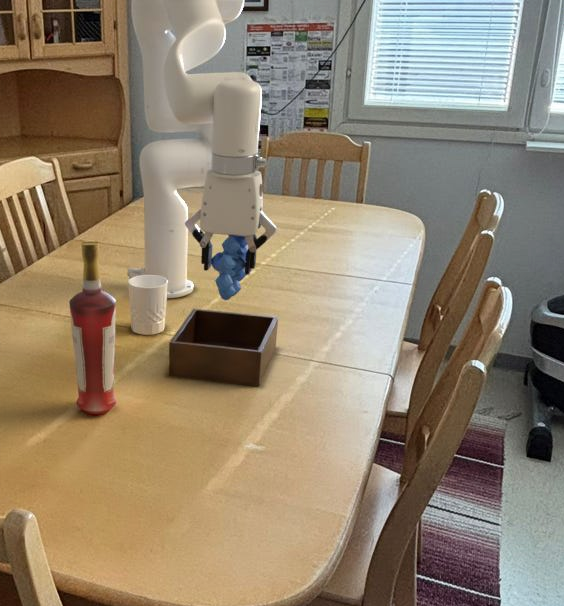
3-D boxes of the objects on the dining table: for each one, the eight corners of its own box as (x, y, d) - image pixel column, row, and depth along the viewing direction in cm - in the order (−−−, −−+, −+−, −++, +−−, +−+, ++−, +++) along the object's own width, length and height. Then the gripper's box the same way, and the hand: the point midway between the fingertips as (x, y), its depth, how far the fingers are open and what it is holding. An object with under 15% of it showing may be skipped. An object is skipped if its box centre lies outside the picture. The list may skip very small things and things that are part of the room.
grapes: (220, 282, 160) (224, 216, 153) (254, 287, 157) (260, 221, 150) (196, 303, 151) (199, 235, 144) (232, 309, 149) (237, 240, 142)
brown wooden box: (168, 375, 156) (169, 342, 152) (192, 340, 170) (193, 308, 166) (258, 386, 152) (261, 352, 148) (275, 349, 165) (278, 316, 162)
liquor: (76, 399, 148) (68, 236, 133) (119, 399, 148) (115, 235, 133) (73, 418, 142) (63, 250, 127) (117, 418, 142) (113, 249, 127)
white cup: (173, 325, 176) (173, 277, 171) (158, 338, 171) (158, 289, 165) (138, 319, 179) (137, 272, 174) (122, 333, 173) (121, 284, 168)
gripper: (290, 162, 142) (280, 267, 152) (188, 155, 147) (185, 259, 157) (282, 172, 136) (272, 282, 147) (177, 166, 141) (175, 272, 151)
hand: (227, 269), depth 152 cm, fingers closed on grapes, 6 cm apart
